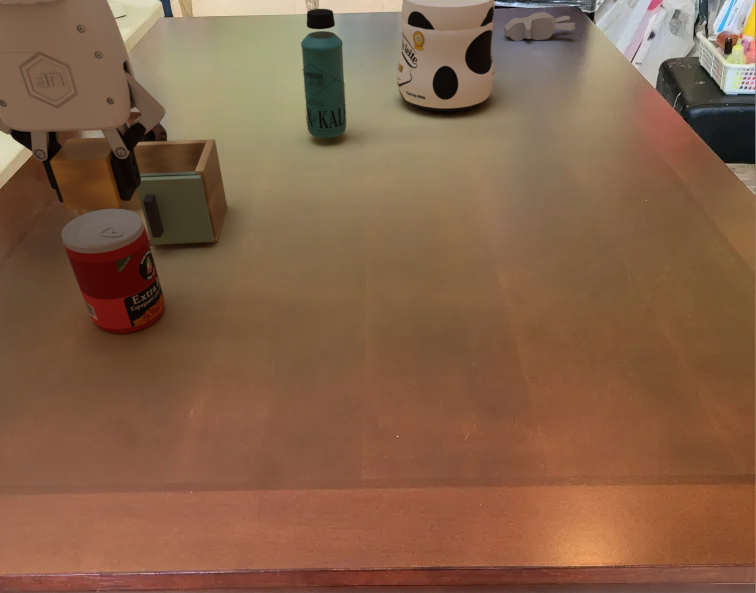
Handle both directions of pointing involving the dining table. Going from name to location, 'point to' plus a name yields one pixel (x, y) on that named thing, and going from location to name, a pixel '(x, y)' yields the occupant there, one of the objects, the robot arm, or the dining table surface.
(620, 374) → the dining table surface
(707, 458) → the dining table surface
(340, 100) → the beverage bottle
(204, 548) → the dining table surface
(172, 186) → the closet door
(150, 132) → the pottery mug
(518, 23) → the bunny figurine
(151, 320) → the canned food
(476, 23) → the milk container
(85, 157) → the block
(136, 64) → the dining table surface
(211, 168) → the cupboard
